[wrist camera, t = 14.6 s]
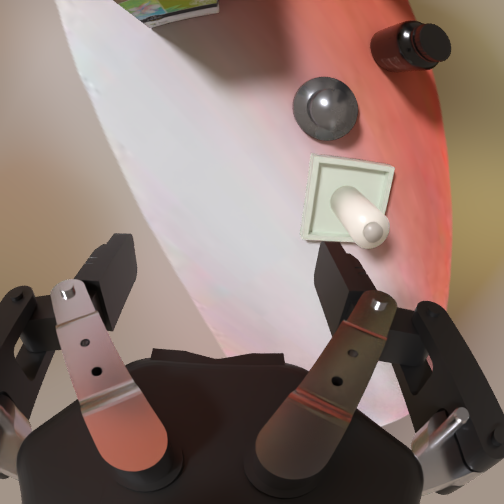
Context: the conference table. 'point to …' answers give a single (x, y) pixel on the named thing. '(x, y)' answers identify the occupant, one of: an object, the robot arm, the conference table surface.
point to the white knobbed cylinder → (359, 217)
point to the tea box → (168, 10)
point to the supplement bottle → (410, 47)
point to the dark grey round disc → (325, 108)
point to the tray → (331, 178)
